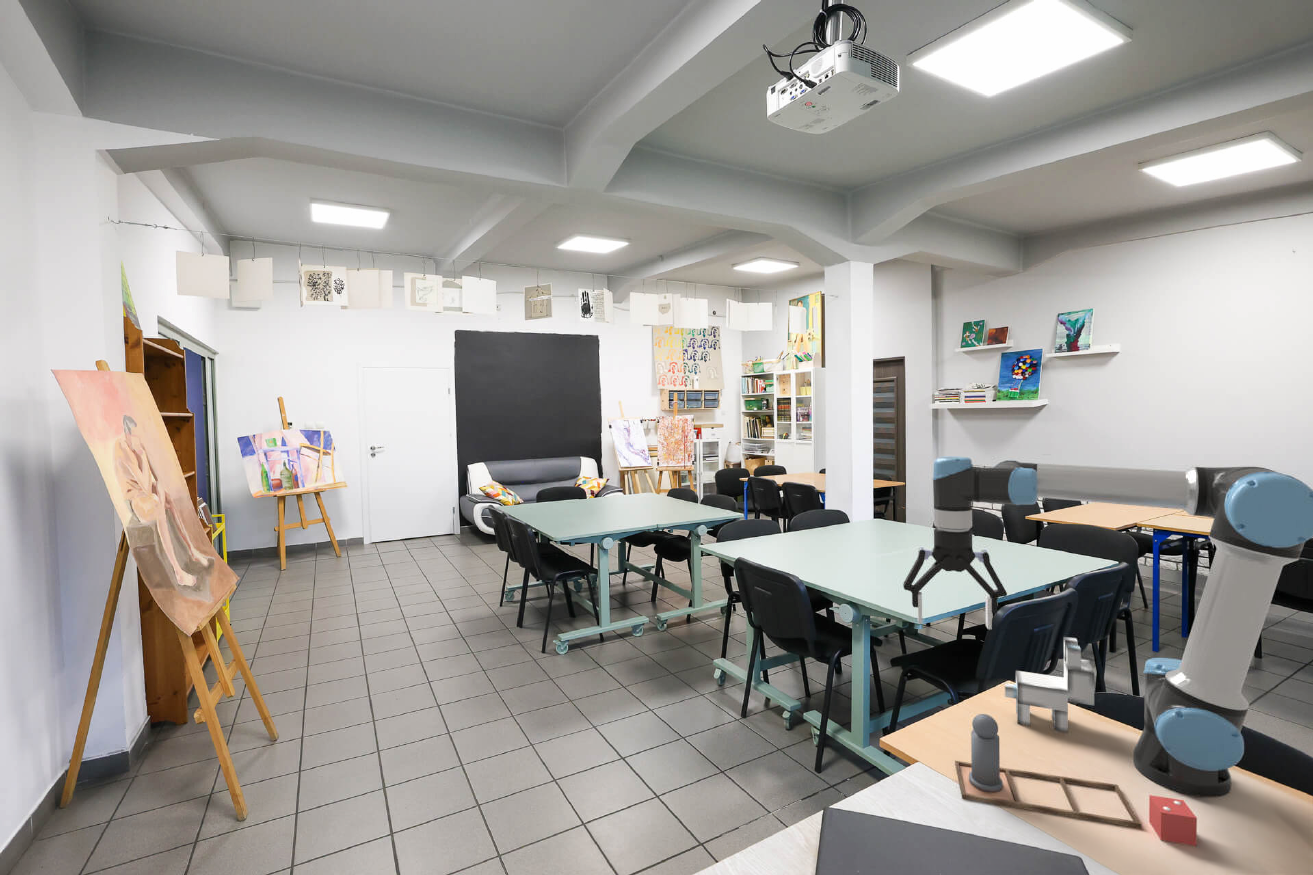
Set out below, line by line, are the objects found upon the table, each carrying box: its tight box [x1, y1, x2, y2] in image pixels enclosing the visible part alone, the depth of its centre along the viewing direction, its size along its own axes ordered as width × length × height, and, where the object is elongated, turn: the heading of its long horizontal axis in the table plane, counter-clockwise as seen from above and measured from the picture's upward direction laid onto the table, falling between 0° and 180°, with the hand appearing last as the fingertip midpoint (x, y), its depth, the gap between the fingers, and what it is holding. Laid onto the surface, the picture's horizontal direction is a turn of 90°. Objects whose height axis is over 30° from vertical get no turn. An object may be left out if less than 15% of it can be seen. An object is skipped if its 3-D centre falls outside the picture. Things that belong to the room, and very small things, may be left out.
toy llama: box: [1004, 636, 1095, 734], centre depth 147 cm, size 8×18×20 cm, turn 62°
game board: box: [954, 760, 1142, 829], centre depth 121 cm, size 29×12×1 cm, turn 70°
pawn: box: [969, 713, 1003, 793], centre depth 124 cm, size 6×6×14 cm
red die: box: [1148, 794, 1198, 847], centre depth 109 cm, size 5×5×5 cm
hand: (953, 624), depth 135 cm, fingers open, 13 cm apart
